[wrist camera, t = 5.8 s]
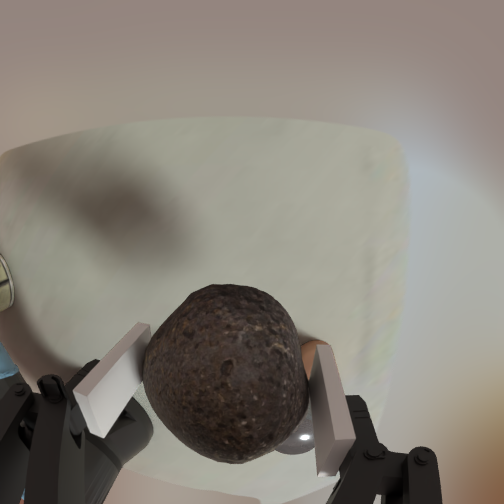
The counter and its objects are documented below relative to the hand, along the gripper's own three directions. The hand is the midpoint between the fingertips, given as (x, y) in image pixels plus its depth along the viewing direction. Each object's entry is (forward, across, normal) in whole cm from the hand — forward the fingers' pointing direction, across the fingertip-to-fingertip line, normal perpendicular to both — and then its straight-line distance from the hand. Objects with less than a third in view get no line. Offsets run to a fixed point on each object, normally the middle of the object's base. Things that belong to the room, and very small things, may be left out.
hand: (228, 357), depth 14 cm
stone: (+1, 0, 0) cm, 1 cm away
